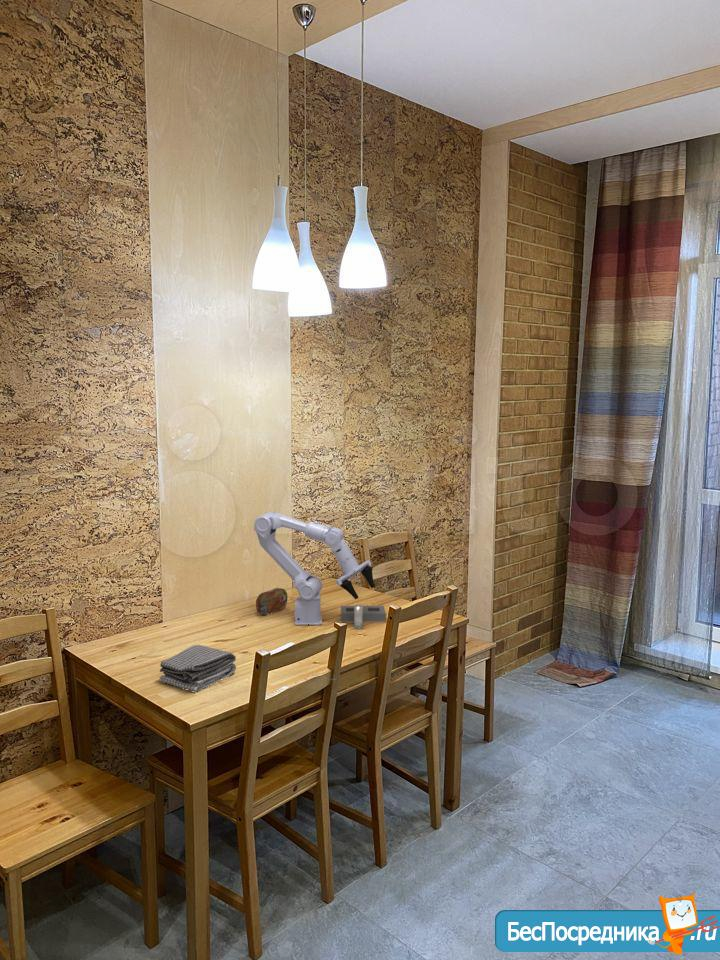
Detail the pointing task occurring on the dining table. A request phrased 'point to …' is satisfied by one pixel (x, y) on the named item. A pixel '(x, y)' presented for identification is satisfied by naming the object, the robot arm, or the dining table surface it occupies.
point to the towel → (197, 667)
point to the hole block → (364, 614)
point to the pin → (358, 617)
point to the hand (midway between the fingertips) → (365, 593)
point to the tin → (271, 601)
